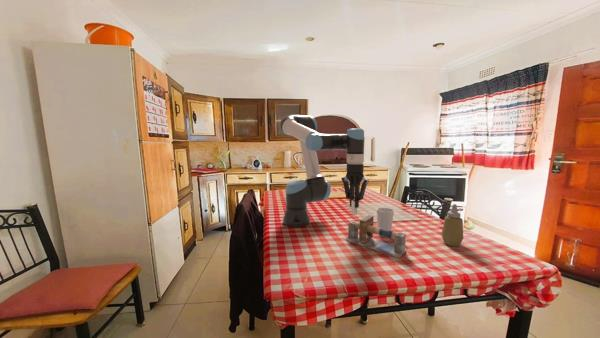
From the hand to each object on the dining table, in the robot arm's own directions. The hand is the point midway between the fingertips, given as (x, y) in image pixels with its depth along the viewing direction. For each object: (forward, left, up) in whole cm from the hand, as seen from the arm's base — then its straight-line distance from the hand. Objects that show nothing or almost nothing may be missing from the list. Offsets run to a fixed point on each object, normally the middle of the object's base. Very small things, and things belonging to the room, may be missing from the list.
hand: (354, 214), depth 104 cm
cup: (+8, +16, -12) cm, 22 cm away
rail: (+10, 0, -12) cm, 16 cm away
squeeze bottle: (+35, +24, -12) cm, 44 cm away
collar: (+6, 0, -11) cm, 12 cm away
